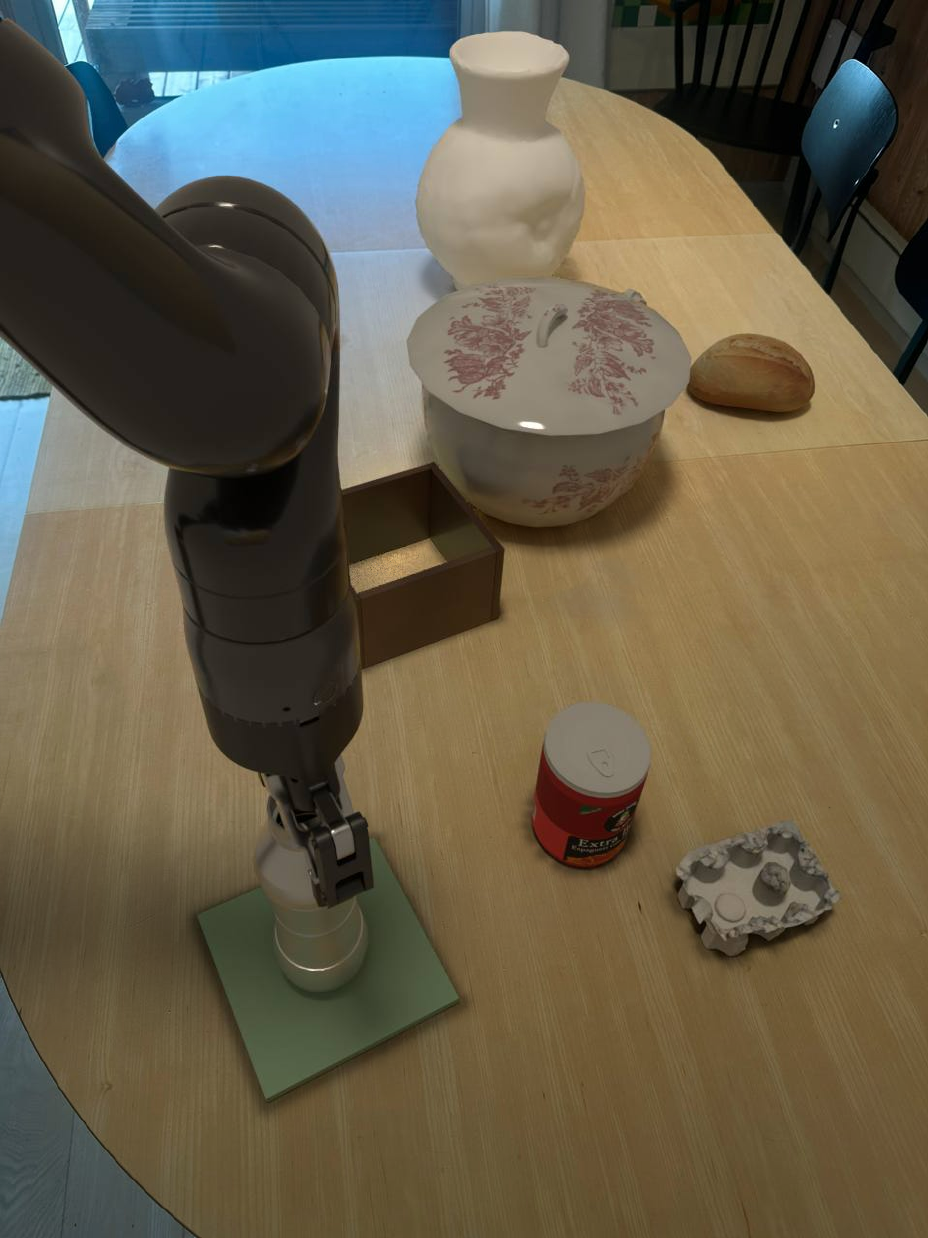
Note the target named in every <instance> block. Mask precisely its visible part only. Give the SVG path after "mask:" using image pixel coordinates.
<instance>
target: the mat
mask: <svg viewBox="0 0 928 1238" xmlns="http://www.w3.org/2000/svg"><path fill="white" fill-rule="evenodd" d="M369 842H370V852H371V862H372V871H373V878H374V880H373V881H374V888H373V889H370V890H368V891H366V892H365V891H364V892H362V893H360V894H357V895H356V899H357V903H358V905H359V907H360V909H361V911H362V913H363V916H364V918H365V921H366V923H367V928H368V938H369V942H368V947H367V952H366V955H365V958H364V961H363V963H362V966H361V967H360V969H359V971H358V972H357V974H356V975H355V976H354V977H353V978H352V979H351V980H350V981H349V982H347V983H346V984H345V985H343V986H341V987H339V988H337V989H335V990H332V991H328V992H311V991H307V990H304V989H302V988H300V987H298V986H296V985H295V984H293V983H292V982H291V981H290V980H289V979H288V978H287V976H286V975H285V974H284V973H283V971H282V970H281V968H280V966H279V965H278V963H277V960H276V957H275V954H274V947H273V944H274V928H275V913H274V910H273V907H272V904H271V902H270V900H269V899H268V897H267V895H266V894H265V892H264V890H263V889H262V887H261V886H259V887H257V888H254V889H252V890H249V891H248V892H246V893H243V894H241V895H238V896H236V897H234V898H232V899H230V900H227V901H225V902H223V903H221V904H219V905H216V906H214V907H212V908H209V909H207V910H205V911H203V912H200V913H198V914H197V915H196V917H197V919H198V922H199V925H200V927H201V930H202V934H203V935H204V939H205V941H206V944H207V946H208V949H209V951H210V955H211V958H212V960H213V963H214V966H215V968H216V970H217V973H218V976H219V979H220V982H221V983H222V987H223V989H224V990H223V991H224V992H225V995H226V998H227V1000H228V1003H229V1006H230V1008H231V1011H232V1013H233V1016H234V1019H235V1022H236V1025H237V1027H238V1030H239V1033H240V1034H241V1037H242V1040H243V1043H244V1046H245V1049H246V1052H247V1053H248V1056H249V1059H250V1062H251V1065H252V1067H253V1070H254V1073H255V1076H256V1078H257V1080H258V1083H259V1086H260V1089H261V1092H262V1094H263V1097H264V1099H265V1102H266V1103H267V1104H268V1103H269V1102H271V1101H273V1100H276V1099H277V1098H279V1097H281V1096H283V1095H285V1094H286V1093H289V1092H291V1091H292V1090H294V1089H296V1088H298V1087H300V1086H302V1085H305V1084H306V1083H308V1082H310V1081H312V1080H314V1079H315V1078H318V1077H319V1076H321V1075H323V1074H326V1073H327V1072H329V1071H331V1070H333V1069H334V1068H336V1067H338V1066H340V1065H342V1064H344V1063H346V1062H348V1061H350V1060H352V1059H353V1058H357V1056H359V1055H361V1054H363V1053H365V1052H367V1051H369V1050H372V1049H373V1048H374V1047H377V1046H378V1045H381V1044H383V1043H384V1042H386V1041H388V1040H390V1039H391V1038H393V1037H395V1036H398V1035H399V1034H401V1033H404V1032H405V1031H407V1030H409V1029H411V1028H413V1027H415V1026H416V1025H419V1024H420V1023H422V1022H424V1021H426V1020H428V1019H430V1018H432V1017H433V1016H436V1015H437V1014H440V1013H441V1012H443V1011H445V1010H447V1009H449V1008H452V1007H453V1006H455V1005H457V1004H458V1003H459V1002H460V996H459V994H458V993H457V991H456V989H455V987H454V985H453V983H452V981H451V979H450V977H449V976H448V974H447V972H446V970H445V968H444V966H443V964H442V962H441V960H440V959H439V957H438V955H437V953H436V951H435V949H434V946H433V945H432V943H431V942H430V939H429V938H428V936H427V933H426V932H425V930H424V928H423V925H422V924H421V923H420V921H419V919H418V917H417V914H416V913H415V911H414V909H413V908H412V905H411V903H410V901H409V900H408V898H407V895H406V894H405V893H404V890H403V888H402V886H401V884H400V883H399V881H398V879H397V877H396V875H395V874H394V871H393V870H392V868H391V866H390V864H389V862H388V860H387V859H386V857H385V855H384V852H383V851H382V849H381V847H380V845H379V844H378V841H377V839H376V838H375V836H373V837H369Z"/></svg>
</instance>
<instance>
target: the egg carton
mask: <svg viewBox="0 0 928 1238" xmlns="http://www.w3.org/2000/svg"><path fill="white" fill-rule="evenodd" d="M675 874H676V875H677V877H679V878H680V879H681V880H682V881H681V882H682V885H681V887H680V888H679V891H678V893H677V898H678V901H679V903H680V907H681V908H682V910H683V909H684V910H685V909H692V913H693V914H694V917H695V918H696V920H697V922H698V924H699V925H701V924H702V923H703V922H705V928H704V930H703V931H702V933H701V935H700V940H701V942H702V943H703V946H704V947H705V948H706V949H707V950H710V949H711V950H712V949H713V950H715V949H716V950H718V951H720V952H723V953H724V954H725V955H726V956H729V957H734V956H737V955H739V954H740V953H742V952H743V951H744V950H746V946H747V944H748V942H749V934H755V935H759V936H760V937H762V938H764V939H766V940H767V941H769V942H770V941H771V940H773V939H774V938H777V937H778V936H780V935H781V934H782V933H783V932H785V931H786V930H785V929H786V928H792V927H797V926H798V925H801V924H804V925H805V926H807V925H811V924H813V925H814V923H815V922H816V921H818V919H819V915H821V914H823V913H824V912H826V911H830V910H832V909H833V907H834V905H835V904H836V903H838V902H839V901H841V900H842V894H841V893H840V892H839V890H836V889H835V888H834V886H833V885H832V883H831V881H830V877H829V872H828V871H827V870H826V869H825V868H823V867H822V865H821V863H820V861H819V857H817V855H816V854H815V853H814V850H813V849H812V847H811V844H810V843H809V842H807V841H806V840H805V839H804V838H803V836H802V833H801V831H800V829H799V827H798V826H797V824H796V822H795V821H794V819H793V818H787V819H785V820H782V821H779V822H776V823H773V824H771V825H768V826H766V827H764V828H762V829H755V830H754V831H752V832H747V831H744V832H742V833H739V834H737V835H734V836H731V837H728V838H724V839H722V840H719V841H717V842H713V843H710V844H704V845H701V846H697V847H695V848H693V849H691V850H689V851H688V852H687V853H686V855H685V856H684V857H683V858H682V859H681V861H680V862H679V864H678V865H677V866H676V868H675Z"/></svg>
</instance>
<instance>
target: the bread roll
mask: <svg viewBox="0 0 928 1238" xmlns="http://www.w3.org/2000/svg"><path fill="white" fill-rule="evenodd" d="M815 380H816V379H815V375H814V373H813V370H812V368H811V366H810V364H809V362H807V360H806V359H805V357H804V355H803V354H802V353H801V352H800V351H798V350H797V349H795V348H794V347H793V346H791V345H790V344H789V343H787V342H785V341H783V340H781V339H779V338H776V337H772V336H769V335H764V334H759V333H750V332H749V333H747V332H746V333H737V334H731V335H729V336H726V337H724V338H722V339H720V340H718V341H716V342H715V343H713V344H712V345H710V346H709V347H708V348H707V349H706V350H704V352H703V353H701V354H700V355H699V357H697V358H696V360H695V361H694V362H693V363H692V364H691V367H690V379H689V383H688V385H687V388H688V389H689V390H690V392H691V393H692V394H693V396H694V397H695V398H697V399H699V400H701V401H703V402H706V403H709V404H715V405H721V406H728V407H737V408H743V409H752V410H758V411H763V412H764V411H765V412H776V413H780V412H781V413H784V412H792V411H795V410H798V409H800V408H802V407H804V406H806V405H807V404H809V403H810V401H811V400H812V398H813V397H814V395H815V392H816V391H815V390H816V382H815Z"/></svg>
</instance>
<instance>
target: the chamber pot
mask: <svg viewBox="0 0 928 1238" xmlns="http://www.w3.org/2000/svg"><path fill="white" fill-rule="evenodd" d="M647 303H648V302H647V301H646V300H645V298H643V296H642V294H641V292H639V291H637V290H634V289H632V288H628V289H626V290H625V291H624V292H621V291H618V290H614V289H611V288H607V287H605V286H601V285H598V284H594V283H593V282H592V283H591V282H588V281H581V280H574V279H568V278H559V277H552V276H550V277H508V278H503V279H498V280H493V281H487V282H482V283H477V284H472V285H469V286H467V287H465V288H462V289H460V290H455V291H453V292H450V293H448V294H446V295H443V296H442V297H440V298H439V299H437V301H435V302H434V303H432V305H430V306H429V307H428V308H426V310H424V311H423V312H422V313H421V314H420V315H419V316H417V318H416V319H415V321H414V324H413V326H412V328H411V330H410V332H409V335H408V336H407V338H406V347H407V354H408V362H409V368H411V370H412V371H413V372H414V374H415V375H416V377H417V378H418V380H419V381H420V383H421V409H422V417H423V424H424V429H425V433H426V439H427V442H428V446H429V451H430V454H431V457H432V459H433V460H434V462H435V463H436V464H437V465H438V467H439V468H440V469H441V470H442V472H443V473H444V474H445V475H446V477H447V478H448V479H449V480H450V482H451V483H452V484H453V485H454V487H455V488H456V489H457V490H458V492H459V493H460V494H461V495H462V497H463V498H464V499H465V500H466V502H467V503H468V504H470V505H472V506H473V507H474V508H476V509H477V510H478V511H480V512H481V513H483V514H485V515H487V516H490V517H492V518H494V519H497V520H500V521H501V522H504V523H507V524H510V525H516V526H522V527H528V528H529V527H530V528H535V529H537V528H555V527H563V526H566V525H570V524H574V523H577V522H580V521H584V520H588V519H590V518H591V517H593V516H595V515H596V514H597V513H598V514H599V513H600V512H601V511H603V510H605V508H607V507H608V506H610V505H611V504H613V503H614V502H615V501H616V500H617V499H619V498H620V497H622V496H623V495H624V494H625V493H627V492H628V491H629V490H630V489H632V487H633V486H634V485H635V484H636V482H637V480H638V479H639V478H640V477H641V475H642V474H643V472H644V471H645V469H646V468H647V466H648V464H649V462H650V460H651V458H652V456H653V454H654V453H655V450H656V449H657V446H658V444H659V442H660V439H661V435H662V430H663V426H664V422H665V417H666V416H665V415H666V409H668V408H670V407H672V406H673V405H674V404H675V402H676V401H677V399H678V398H679V397H680V396H681V394H682V393H683V392H684V390H685V389H686V388H687V387H688V383H689V379H690V368H691V366H692V355H691V354H690V351H689V350H688V348H687V346H686V343H685V341H684V340H683V338H682V335H681V333H680V332H679V330H677V329H676V328H675V326H674V325H672V324H671V323H670V322H669V321H668V320H666V319H665V317H663V315H661V314H660V313H659V311H657V310H656V309H654V308H653V307H650V306H648V304H647Z"/></svg>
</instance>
